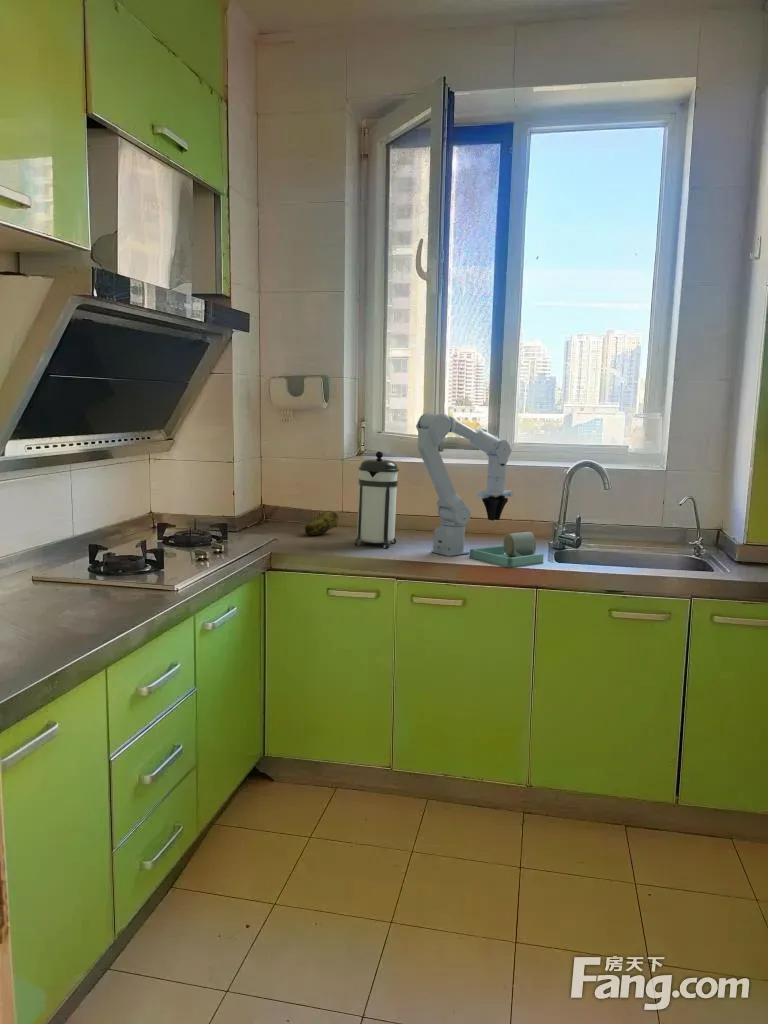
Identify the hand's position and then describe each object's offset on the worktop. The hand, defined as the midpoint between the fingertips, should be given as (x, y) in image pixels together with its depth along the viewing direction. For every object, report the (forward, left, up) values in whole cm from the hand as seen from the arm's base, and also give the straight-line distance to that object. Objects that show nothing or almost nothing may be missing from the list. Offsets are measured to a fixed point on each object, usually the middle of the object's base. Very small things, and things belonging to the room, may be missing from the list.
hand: (493, 519), depth 246 cm
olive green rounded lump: (-33, +48, -10) cm, 59 cm away
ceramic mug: (-1, -13, -10) cm, 16 cm away
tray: (-8, -13, -10) cm, 18 cm away
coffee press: (-27, +26, -10) cm, 39 cm away
